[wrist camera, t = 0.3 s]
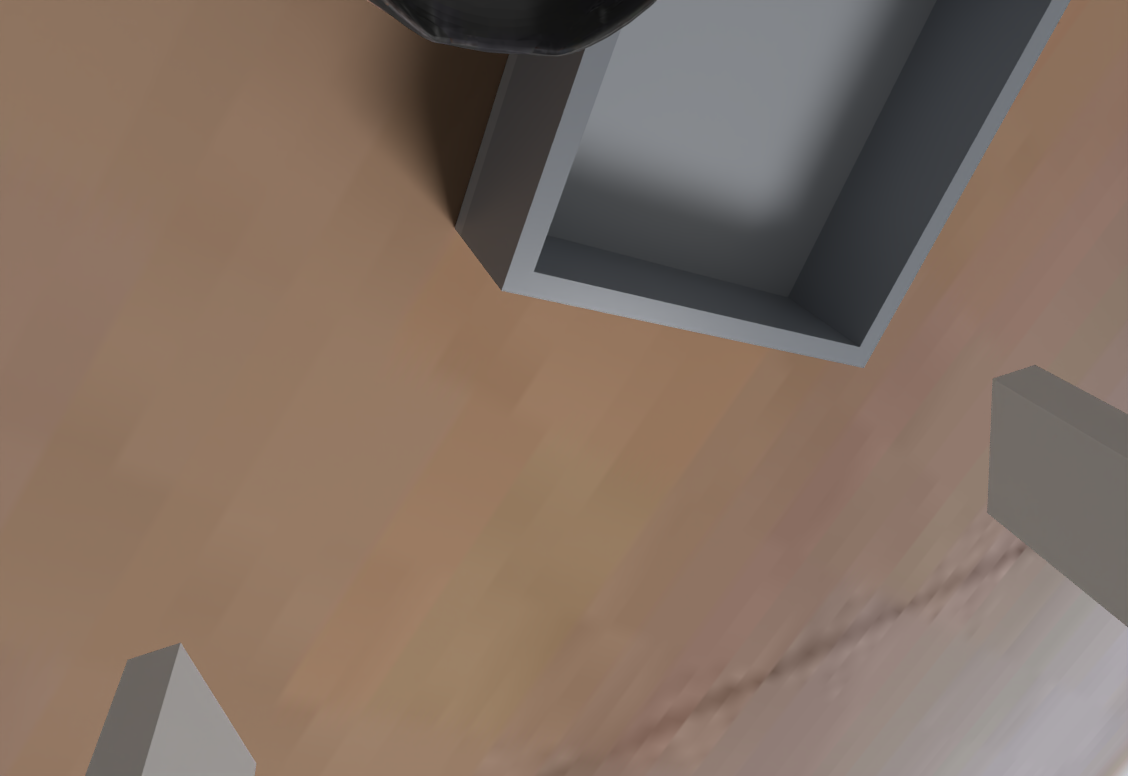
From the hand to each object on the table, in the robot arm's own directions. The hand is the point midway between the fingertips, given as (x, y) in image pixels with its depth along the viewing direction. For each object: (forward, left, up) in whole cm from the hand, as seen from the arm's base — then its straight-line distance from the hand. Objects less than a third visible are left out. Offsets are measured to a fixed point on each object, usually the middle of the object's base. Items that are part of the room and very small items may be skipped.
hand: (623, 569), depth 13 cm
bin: (-8, +15, -25) cm, 30 cm away
